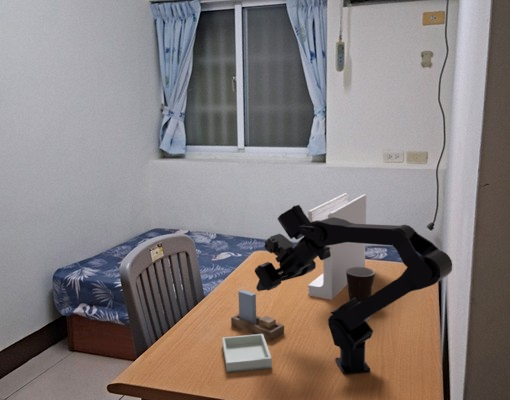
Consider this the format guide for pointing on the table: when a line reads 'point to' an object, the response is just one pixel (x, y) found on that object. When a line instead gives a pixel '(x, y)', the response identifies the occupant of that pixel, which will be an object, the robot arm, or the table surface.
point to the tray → (246, 353)
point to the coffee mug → (360, 282)
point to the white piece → (339, 245)
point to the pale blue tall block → (247, 306)
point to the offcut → (267, 322)
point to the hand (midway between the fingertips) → (269, 284)
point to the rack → (257, 328)
